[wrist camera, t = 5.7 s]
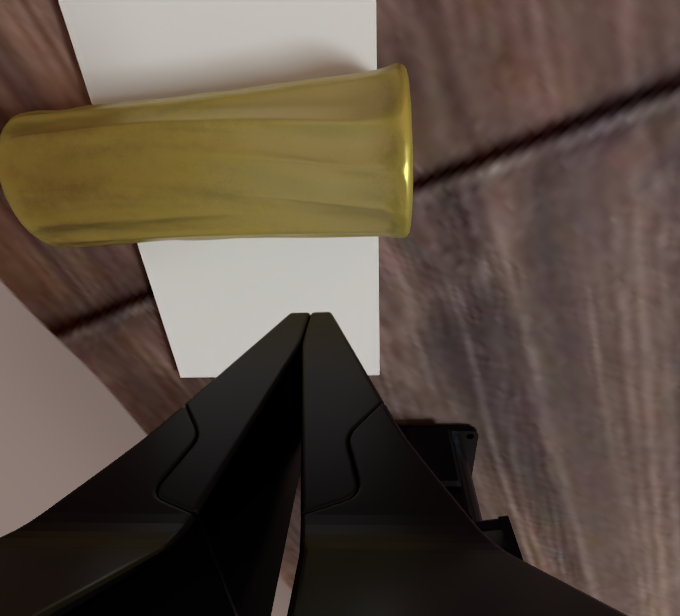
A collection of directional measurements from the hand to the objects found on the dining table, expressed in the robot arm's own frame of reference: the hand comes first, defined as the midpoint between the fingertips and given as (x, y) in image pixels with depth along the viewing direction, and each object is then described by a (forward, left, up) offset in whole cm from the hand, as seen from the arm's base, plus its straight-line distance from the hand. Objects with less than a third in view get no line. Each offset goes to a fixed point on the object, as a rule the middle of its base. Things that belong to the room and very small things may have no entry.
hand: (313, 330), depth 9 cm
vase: (+1, -3, -10) cm, 10 cm away
